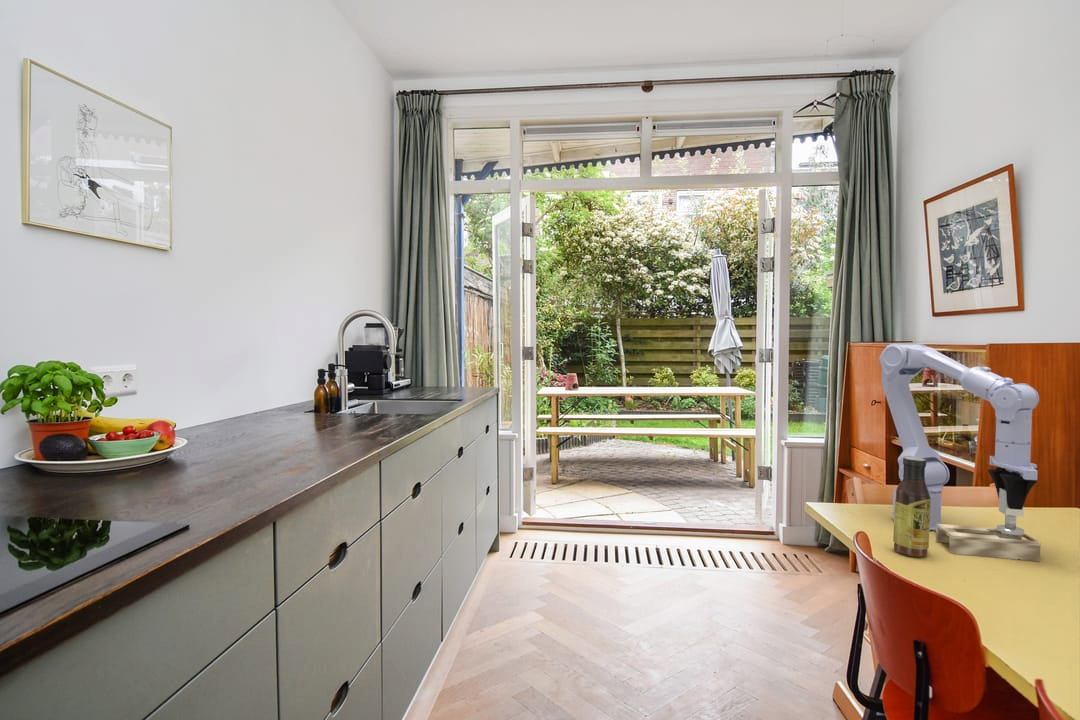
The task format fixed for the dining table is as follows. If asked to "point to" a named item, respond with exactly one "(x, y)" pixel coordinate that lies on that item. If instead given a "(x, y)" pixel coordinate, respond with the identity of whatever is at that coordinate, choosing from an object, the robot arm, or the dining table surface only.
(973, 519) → the dining table surface
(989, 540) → the beige wooden frame
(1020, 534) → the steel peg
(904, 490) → the sauce bottle
